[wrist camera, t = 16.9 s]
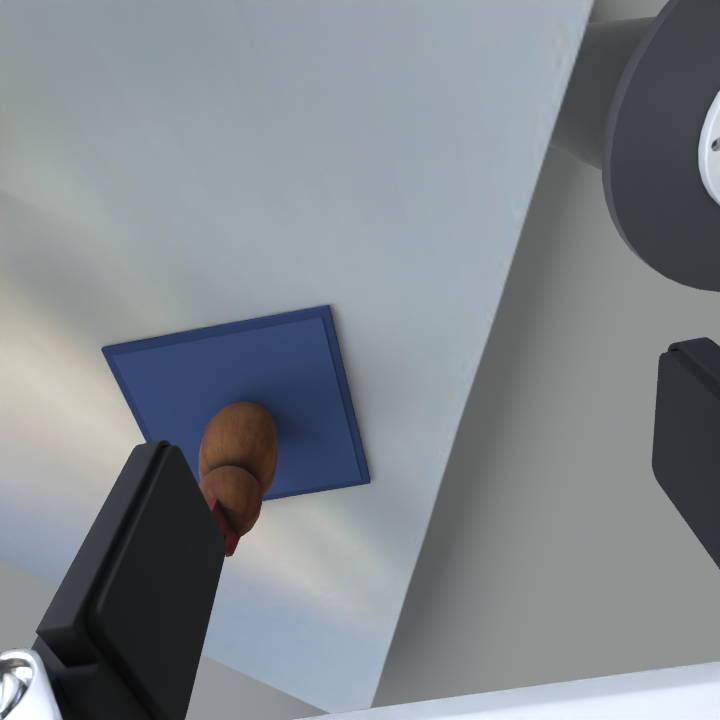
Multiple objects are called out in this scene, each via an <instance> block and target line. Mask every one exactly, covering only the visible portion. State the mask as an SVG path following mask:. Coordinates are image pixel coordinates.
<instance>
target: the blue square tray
mask: <svg viewBox="0 0 720 720" xmlns="http://www.w3.org/2000/svg"><path fill="white" fill-rule="evenodd" d="M101 350H102V352H103V354H104V356H105V358H106V360H107V363H108V365H109V367H110V369H111V371H112V373H113V375H114V377H115V379H116V381H117V383H118V385H119V387H120V389H121V391H122V393H123V395H124V397H125V399H126V401H127V403H128V406H129V408H130V410H131V412H132V414H133V416H134V418H135V420H136V422H137V424H138V426H139V428H140V430H141V432H142V434H143V436H144V438H145V440H146V442H147V443H150V442H156V441H161V440H167V441H168V442H170V443H171V445H172V446H173V445H177V446H178V447H180V449H181V451H182V453H183V455H184V457H185V459H186V461H187V463H188V465H189V467H190V469H191V471H192V473H193V475H194V477H195V479H196V481H197V483H198V485H199V484H200V482H201V480H200V476H199V451H200V446H201V442H202V438H203V434H204V431H205V429H206V426H207V425H208V423H209V422H210V420H211V419H212V418H213V417H214V416H215V415H216V414H217V413H219V412H220V411H221V410H222V409H223V408H224V407H226V406H228V405H230V404H233V403H236V402H239V401H243V402H253V403H256V404H260V405H261V406H263V407H264V408H265V409H267V410H268V411H269V412H270V414H271V416H272V418H273V420H274V423H275V425H276V430H277V438H278V460H277V468H276V472H275V476H274V479H273V482H272V485H271V488H270V490H269V491H268V492H267V493H266V494H265V495H264V496H263V498H262V501H266V500H272V499H278V498H284V497H290V496H296V495H302V494H308V493H314V492H320V491H326V490H333V489H339V488H345V487H351V486H357V485H363V484H369V483H370V477H369V473H368V468H367V464H366V460H365V456H364V452H363V447H362V443H361V439H360V435H359V430H358V426H357V422H356V418H355V413H354V409H353V405H352V401H351V396H350V392H349V388H348V384H347V379H346V375H345V371H344V367H343V362H342V358H341V354H340V350H339V345H338V341H337V337H336V333H335V329H334V324H333V320H332V316H331V312H330V307H329V305H327V306H321V307H316V308H311V309H305V310H300V311H295V312H289V313H284V314H278V315H273V316H268V317H262V318H257V319H252V320H246V321H241V322H235V323H230V324H225V325H219V326H214V327H209V328H203V329H198V330H193V331H187V332H182V333H176V334H171V335H166V336H160V337H155V338H150V339H144V340H139V341H133V342H128V343H123V344H117V345H112V346H107V347H103V348H102V349H101Z"/></svg>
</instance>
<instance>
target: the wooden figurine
mask: <svg viewBox="0 0 720 720" xmlns="http://www.w3.org/2000/svg"><path fill="white" fill-rule="evenodd" d="M277 460H278V438H277V430H276V425H275V423H274V420H273V418H272V416H271V414H270V412H269V411H268V410H267V409H265V408H264V407H263V406H261V405H260V404H256V403H253V402H243V401H239V402H236V403H233V404H230V405H228V406H226V407H224V408H223V409H222V410H221V411H220V412H219V413H217V414H216V415H215V416H214V417H213V418H212V419H211V420H210V422H209V423H208V425H207V426H206V429H205V431H204V434H203V438H202V442H201V446H200V451H199V476H200V480H201V482H200V484H199V487H200V489H201V491H202V493H203V495H204V498H205V500H206V502H207V504H208V506H209V508H210V510H211V512H212V514H213V516H214V518H215V520H216V522H217V524H218V526H219V528H220V530H221V532H222V534H223V537H224V540H225V547H226V551H225V555H226V557H229V556H232V555H233V553H234V551H235V549H236V547H237V544H238V542H239V539H240V537H241V536H243V535H245V534H246V533H247V532H249V531H250V530H251V529H252V527H253V526H254V524H255V523H256V521H257V519H258V517H259V514H260V510H261V505H262V498H263V496H264V495H265V494H266V493H267V492H268V491H269V490H270V488H271V485H272V482H273V479H274V476H275V472H276V468H277Z"/></svg>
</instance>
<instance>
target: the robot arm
mask: <svg viewBox="0 0 720 720" xmlns="http://www.w3.org/2000/svg"><path fill="white" fill-rule="evenodd" d="M712 143H713V144H712ZM698 160H699V170H700V174H701V178H702V182H703V184H704V186H705V188H706V190H707V192H708V194H709V195H710V196H711V197H712V198H713V199H714V200H715V201H716V203H717V204H718V205H720V90H719V92H718V93H717V95H716V97H715V99H714V101H713V103H712V105H711V107H710V109H709V111H708V113H707V116H706V119H705V122H704V125H703V128H702V131H701V136H700V142H699V148H698ZM652 468H653V472H654V475H655V477H656V480H657V481H658V483H659V484H660V486H661V487H662V489H663V490H664V491H665V493H666V494H667V496H668V497H669V499H670V500H671V501H672V503H673V504H674V505H675V507H676V508H677V510H678V511H679V513H680V514H681V515H682V517H683V518H684V519H685V521H686V522H687V524H688V525H689V527H690V528H691V529H692V531H693V532H694V534H695V535H696V536H697V538H698V539H699V541H700V542H701V543H702V545H703V546H704V548H705V549H706V550H707V552H708V553H709V555H710V556H711V558H712V559H713V560H714V562H715V563H716V565H717V566H718V567H719V569H720V346H718V345H717V344H716V343H715V342H713V341H712V340H710V339H709V338H705V337H704V338H698V339H692V340H687V341H682V342H677V343H673V344H671V345H670V346H669V348H668V352H666V353H662V354H661V356H660V359H659V367H658V382H657V396H656V410H655V426H654V441H653V454H652ZM225 551H226V547H225V540H224V537H223V534H222V532H221V530H220V528H219V526H218V524H217V522H216V520H215V518H214V516H213V514H212V512H211V510H210V508H209V506H208V504H207V502H206V500H205V498H204V495H203V493H202V491H201V489H200V487H199V485H198V483H197V481H196V479H195V477H194V475H193V473H192V471H191V469H190V467H189V465H188V463H187V461H186V459H185V457H184V455H183V453H182V451H181V449H180V447H178V446H177V445H173V446H172V445H171V443H170V442H168V441H167V440H161V441H156V442H150V443H145V444H140V445H137V446H135V448H134V449H133V451H132V452H131V454H130V456H129V458H128V460H127V462H126V464H125V466H124V467H123V469H122V471H121V473H120V475H119V477H118V479H117V481H116V482H115V484H114V486H113V488H112V490H111V492H110V494H109V495H108V497H107V499H106V501H105V503H104V505H103V507H102V509H101V510H100V512H99V514H98V516H97V518H96V520H95V522H94V523H93V525H92V527H91V529H90V531H89V533H88V535H87V537H86V538H85V540H84V542H83V544H82V546H81V548H80V550H79V551H78V553H77V555H76V557H75V559H74V561H73V563H72V565H71V566H70V568H69V570H68V572H67V574H66V576H65V578H64V579H63V581H62V583H61V585H60V587H59V589H58V591H57V593H56V594H55V596H54V598H53V600H52V602H51V604H50V606H49V607H48V609H47V611H46V613H45V615H44V617H43V619H42V621H41V622H40V624H39V626H38V628H37V630H36V633H37V634H38V637H37V639H36V641H35V643H34V645H33V647H32V649H29V648H14V649H11V650H8V651H5V652H2V653H0V720H185V717H186V713H187V710H188V706H189V701H190V697H191V693H192V689H193V685H194V681H195V677H196V672H197V668H198V664H199V660H200V656H201V652H202V648H203V644H204V640H205V636H206V632H207V627H208V623H209V619H210V615H211V611H212V607H213V603H214V599H215V595H216V590H217V586H218V582H219V578H220V574H221V570H222V566H223V562H224V557H225ZM293 720H720V661H718V662H710V663H702V664H695V665H687V666H680V667H672V668H665V669H657V670H650V671H642V672H634V673H627V674H619V675H612V676H604V677H597V678H589V679H581V680H574V681H567V682H559V683H551V684H544V685H537V686H530V687H522V688H515V689H508V690H501V691H494V692H486V693H478V694H471V695H465V696H457V697H450V698H442V699H435V700H428V701H421V702H414V703H406V704H399V705H392V706H384V707H378V708H370V709H363V710H356V711H349V712H342V713H335V714H328V715H321V716H314V717H307V718H300V719H293Z"/></svg>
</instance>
